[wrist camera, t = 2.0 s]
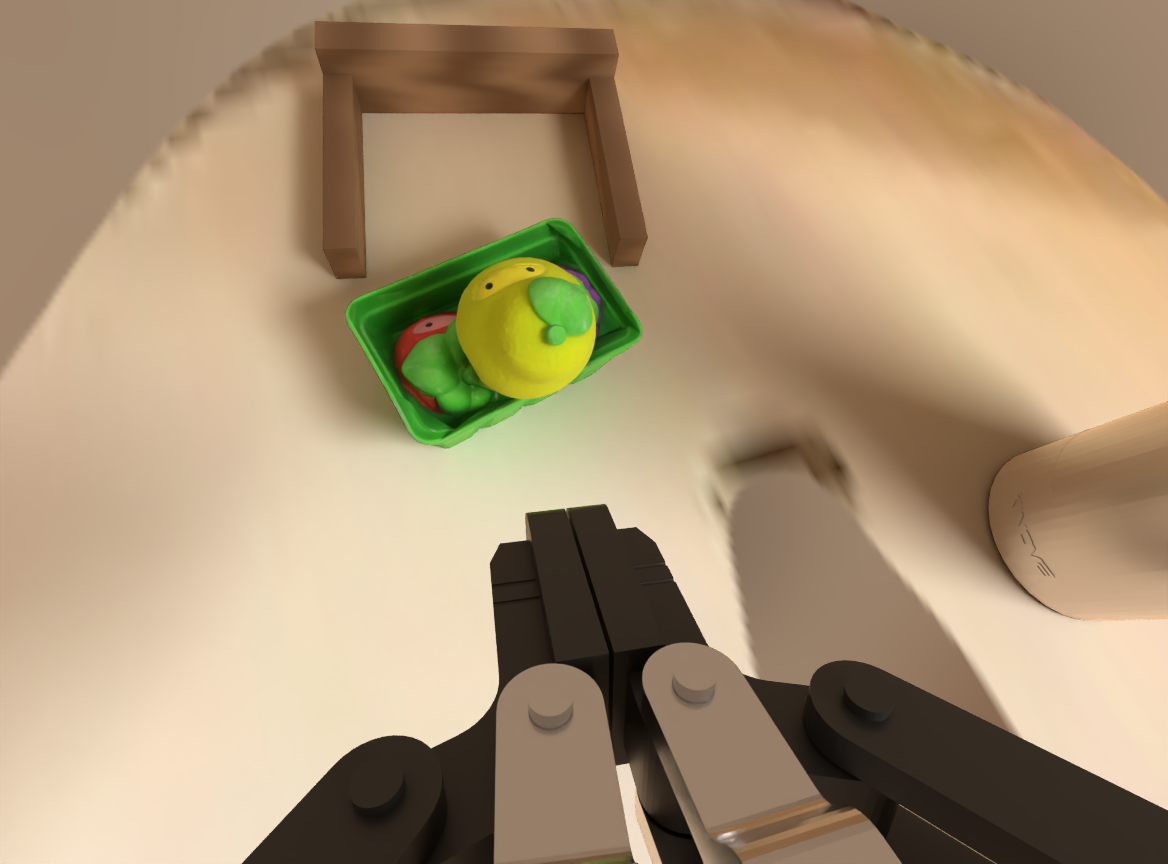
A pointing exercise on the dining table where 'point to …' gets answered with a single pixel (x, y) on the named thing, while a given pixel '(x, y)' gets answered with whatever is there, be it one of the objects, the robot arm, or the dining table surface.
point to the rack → (467, 108)
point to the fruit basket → (492, 331)
